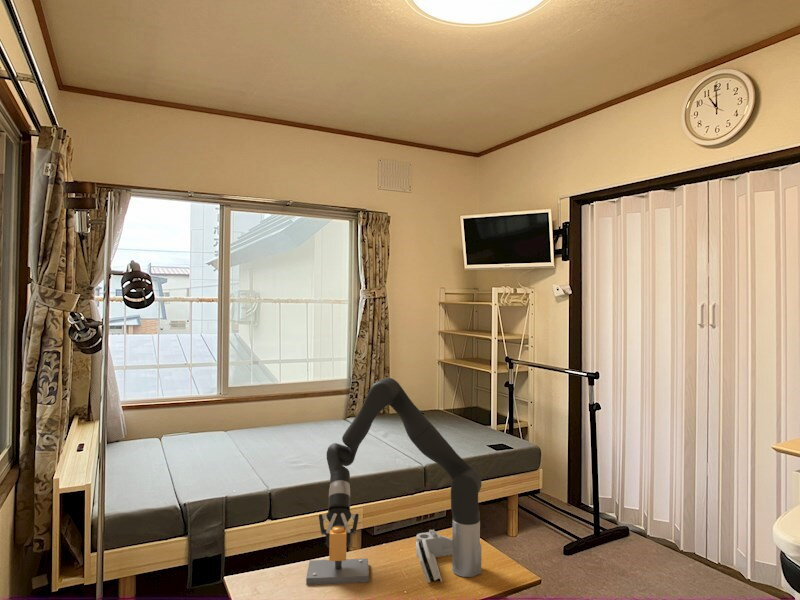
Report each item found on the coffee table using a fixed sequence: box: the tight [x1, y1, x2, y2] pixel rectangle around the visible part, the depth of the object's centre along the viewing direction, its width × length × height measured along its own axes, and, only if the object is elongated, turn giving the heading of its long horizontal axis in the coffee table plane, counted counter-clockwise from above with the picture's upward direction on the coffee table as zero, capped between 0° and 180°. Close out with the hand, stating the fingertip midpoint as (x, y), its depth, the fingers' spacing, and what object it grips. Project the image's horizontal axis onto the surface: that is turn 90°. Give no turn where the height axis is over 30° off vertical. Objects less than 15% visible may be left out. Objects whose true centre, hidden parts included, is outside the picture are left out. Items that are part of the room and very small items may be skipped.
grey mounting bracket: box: [415, 528, 453, 558], centre depth 193 cm, size 6×18×8 cm, turn 106°
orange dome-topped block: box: [328, 526, 347, 561], centre depth 178 cm, size 6×6×10 cm
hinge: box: [415, 539, 443, 583], centre depth 180 cm, size 17×5×10 cm, turn 4°
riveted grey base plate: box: [305, 558, 370, 585], centre depth 178 cm, size 20×12×7 cm, turn 95°
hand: (338, 546), depth 176 cm, fingers closed on orange dome-topped block, 5 cm apart
